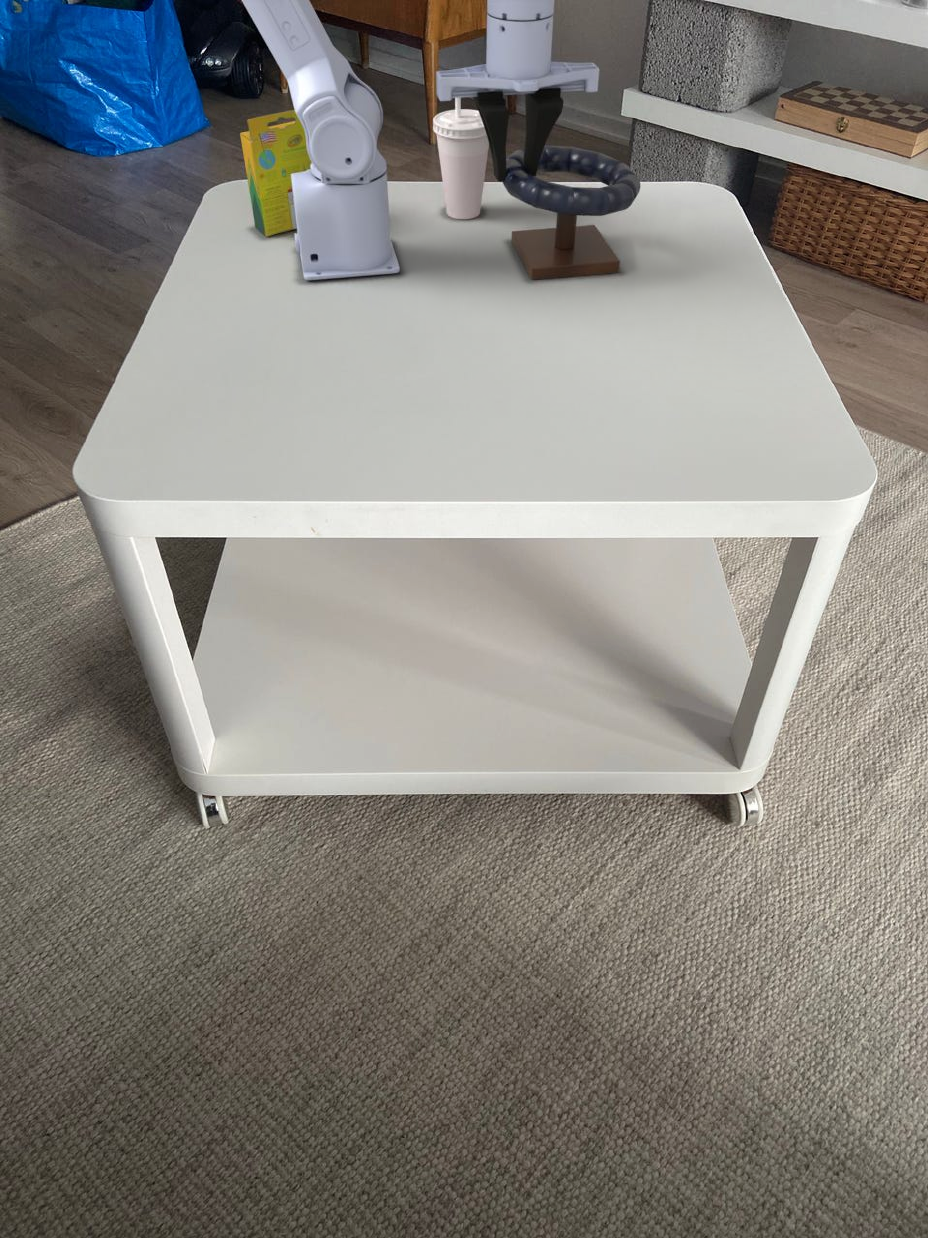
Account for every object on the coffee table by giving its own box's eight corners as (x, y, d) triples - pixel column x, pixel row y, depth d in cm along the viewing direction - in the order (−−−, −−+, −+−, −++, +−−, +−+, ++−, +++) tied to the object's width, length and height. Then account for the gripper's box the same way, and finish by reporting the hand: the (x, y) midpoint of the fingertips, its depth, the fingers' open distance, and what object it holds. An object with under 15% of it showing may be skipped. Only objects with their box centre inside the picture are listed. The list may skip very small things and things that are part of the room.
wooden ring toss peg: (531, 280, 96) (534, 211, 91) (511, 242, 102) (513, 176, 97) (619, 272, 97) (627, 204, 92) (593, 235, 103) (600, 170, 98)
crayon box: (315, 213, 107) (303, 98, 99) (327, 222, 105) (316, 106, 97) (253, 228, 104) (235, 110, 96) (264, 237, 103) (247, 119, 94)
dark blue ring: (516, 217, 89) (520, 191, 87) (486, 165, 98) (489, 139, 96) (654, 221, 91) (660, 195, 90) (612, 169, 101) (617, 144, 99)
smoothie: (436, 200, 110) (434, 62, 100) (493, 201, 110) (496, 63, 100) (432, 223, 105) (429, 81, 95) (491, 224, 105) (494, 82, 95)
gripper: (444, 29, 79) (446, 197, 89) (615, 20, 81) (599, 186, 91) (431, 7, 84) (434, 169, 94) (591, 0, 86) (579, 159, 96)
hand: (514, 176), depth 93 cm, fingers closed on dark blue ring, 2 cm apart
